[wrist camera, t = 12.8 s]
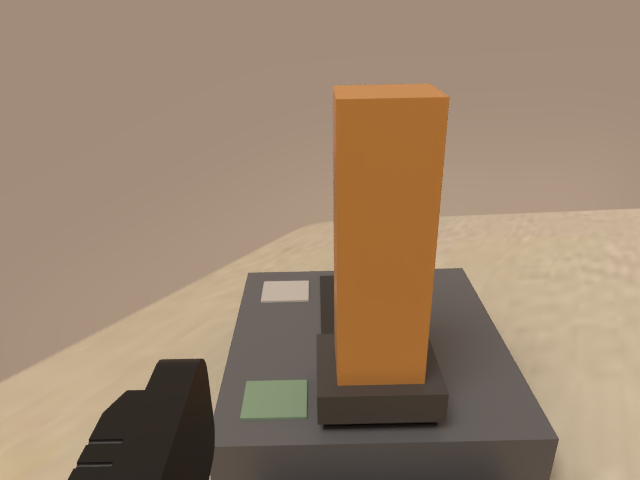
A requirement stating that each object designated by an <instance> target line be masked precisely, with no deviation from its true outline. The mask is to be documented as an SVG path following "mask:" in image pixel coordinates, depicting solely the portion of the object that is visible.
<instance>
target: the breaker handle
mask: <svg viewBox="0 0 640 480" xmlns="http://www.w3.org/2000/svg"><path fill="white" fill-rule="evenodd" d="M448 108H449V96H447V95H446V94H444V93H443V92H441V91H440V90H438V89H437V88H435V87H434V86H433V85H431V84H394V85H393V84H389V85H342V86H341V85H340V86H333V178H334V179H333V184H334V185H333V190H334V191H333V192H334V194H333V195H334V334H316V349H317V418H318V425H325V424H370V423H415V422H446V416H447V407H448V398H449V393H448V390H447V388H446V385H445V382H444V379H443V376H442V373H441V370H440V367H439V365H438V362H437V359H436V356H435V353H434V350H433V347H432V344H431V342H430V339H429V328H430V316H431V305H432V293H433V282H434V270H435V259H436V247H437V236H438V224H439V212H440V201H441V189H442V177H443V166H444V155H445V154H444V153H445V143H446V131H447V120H448Z"/></svg>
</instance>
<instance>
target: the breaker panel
mask: <svg viewBox="0 0 640 480" xmlns="http://www.w3.org/2000/svg"><path fill="white" fill-rule="evenodd" d="M316 334H334V271H311V272H264V273H248V276H247V280H246V284H245V289H244V293H243V297H242V301H241V305H240V309H239V313H238V318H237V322H236V326H235V330H234V334H233V338H232V342H231V347H230V351H229V355H228V359H227V363H226V367H225V371H224V375H223V380H222V384H221V388H220V392H219V396H218V400H217V404H216V409H215V413H214V417H213V418H214V426H215V447H214V457H213V463H212V467H211V472H210V476H211V480H549V478H550V474H551V470H552V466H553V461H554V457H555V453H556V449H557V445H558V441H559V439H558V437H557V435H556V433H555V432H554V430H553V428H552V426H551V424H550V423H549V421H548V419H547V417H546V416H545V414H544V412H543V410H542V408H541V407H540V405H539V403H538V401H537V400H536V398H535V396H534V394H533V393H532V391H531V389H530V387H529V385H528V384H527V382H526V380H525V378H524V377H523V375H522V373H521V371H520V370H519V368H518V366H517V364H516V362H515V361H514V359H513V357H512V355H511V354H510V352H509V350H508V348H507V347H506V345H505V343H504V341H503V339H502V338H501V336H500V334H499V332H498V331H497V329H496V327H495V325H494V323H493V322H492V320H491V318H490V316H489V315H488V313H487V311H486V309H485V308H484V306H483V304H482V302H481V300H480V299H479V297H478V295H477V293H476V292H475V290H474V288H473V286H472V285H471V283H470V281H469V279H468V277H467V276H466V274H465V272H464V270H463V269H462V268H453V269H435V270H434V282H433V293H432V305H431V316H430V328H429V339H430V342H431V344H432V347H433V350H434V353H435V356H436V359H437V362H438V365H439V367H440V370H441V373H442V376H443V379H444V382H445V385H446V388H447V390H448V393H449V398H448V407H447V416H446V422H415V423H370V424H325V425H318V418H317V349H316Z"/></svg>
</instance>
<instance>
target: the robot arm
mask: <svg viewBox="0 0 640 480" xmlns="http://www.w3.org/2000/svg"><path fill="white" fill-rule="evenodd" d="M214 447H215V426H214V418H213V410H212V403H211V395H210V387H209V380H208V372H207V366H206V362H205V360H204V359H162V360H159V361H158V363H157V365H156V366H155V369H154V371H153V373H152V375H151V378H150V380H149V382H148V385H147V387H146V389H145V390H127V391H126V392H125V393H124V394H122V395H121V396H120V397H119V398H118V399H117V400H116V401H115V402H114V403H113V404H112V405H111V406H110V407H109V408H108V409H106V410H105V411H104V412H103V413H102V415H101V417H100V419H99V421H98V423H97V425H96V427H95V429H94V431H93V433H92V434H91V436H90V438H89V444H88V445H86V446H85V448H84V450H83V452H82V454H81V455H80V457H79V459H78V461H77V467H76V468H74V469H73V471H72V473H71V475H70V477H69V478H68V480H209V476H210V472H211V467H212V463H213V457H214Z"/></svg>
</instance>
